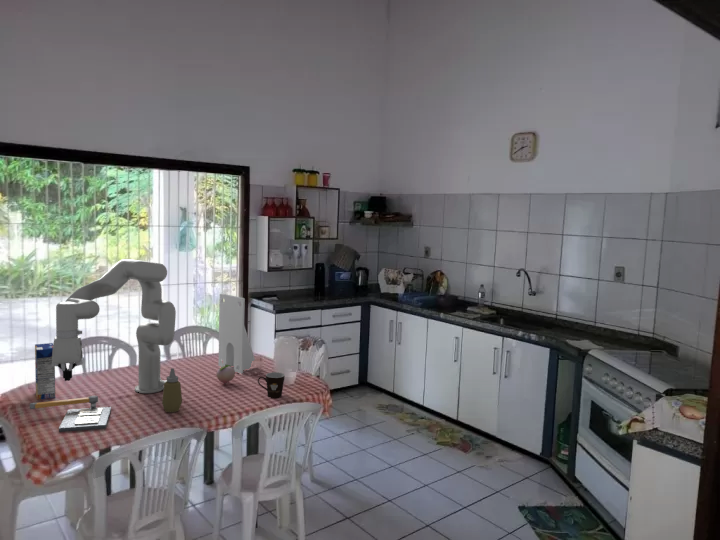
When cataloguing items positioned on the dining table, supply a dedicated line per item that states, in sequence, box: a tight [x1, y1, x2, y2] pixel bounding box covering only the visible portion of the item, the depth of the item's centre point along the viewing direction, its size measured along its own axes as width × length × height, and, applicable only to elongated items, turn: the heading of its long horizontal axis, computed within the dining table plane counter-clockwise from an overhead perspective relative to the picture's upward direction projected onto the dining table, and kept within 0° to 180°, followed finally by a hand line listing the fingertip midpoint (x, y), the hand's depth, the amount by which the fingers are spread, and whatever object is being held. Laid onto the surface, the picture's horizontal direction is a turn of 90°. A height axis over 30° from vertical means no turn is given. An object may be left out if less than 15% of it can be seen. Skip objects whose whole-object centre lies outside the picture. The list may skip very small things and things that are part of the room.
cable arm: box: [29, 395, 99, 410], centre depth 228 cm, size 4×24×2 cm, turn 118°
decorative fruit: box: [216, 364, 236, 385], centre depth 274 cm, size 9×8×10 cm
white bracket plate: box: [217, 292, 256, 374], centre depth 300 cm, size 20×14×40 cm
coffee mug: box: [257, 371, 286, 399], centre depth 260 cm, size 12×9×10 cm
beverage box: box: [34, 342, 56, 401], centre depth 247 cm, size 7×11×22 cm, turn 33°
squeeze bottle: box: [161, 368, 183, 413], centre depth 236 cm, size 8×8×18 cm
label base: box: [58, 402, 112, 433], centre depth 223 cm, size 16×23×3 cm
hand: (67, 379), depth 220 cm, fingers closed
